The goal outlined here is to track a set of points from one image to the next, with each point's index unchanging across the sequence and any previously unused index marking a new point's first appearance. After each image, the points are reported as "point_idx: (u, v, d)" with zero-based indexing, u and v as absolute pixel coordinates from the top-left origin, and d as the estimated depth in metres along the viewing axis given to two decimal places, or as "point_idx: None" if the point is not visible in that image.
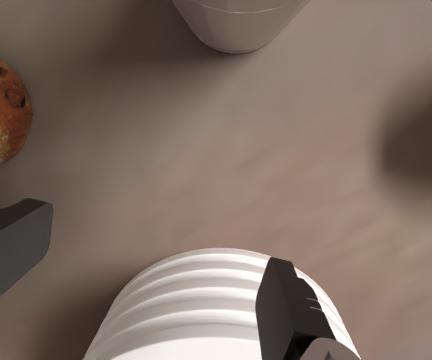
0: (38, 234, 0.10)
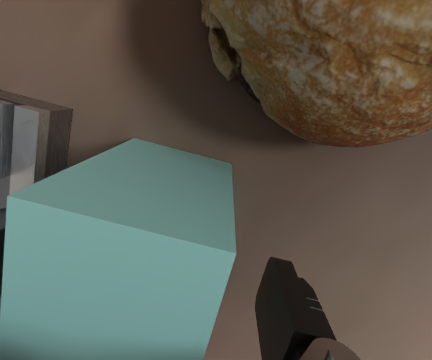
0: None
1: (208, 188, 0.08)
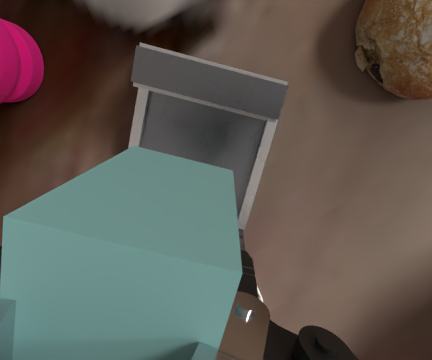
0: None
1: (210, 199, 0.08)
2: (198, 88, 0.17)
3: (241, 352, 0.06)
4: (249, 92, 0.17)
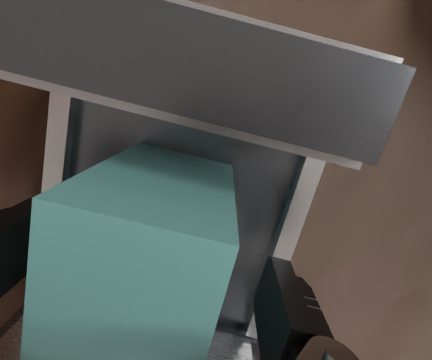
0: None
1: (211, 188, 0.09)
2: (149, 77, 0.06)
3: None
4: (298, 88, 0.06)
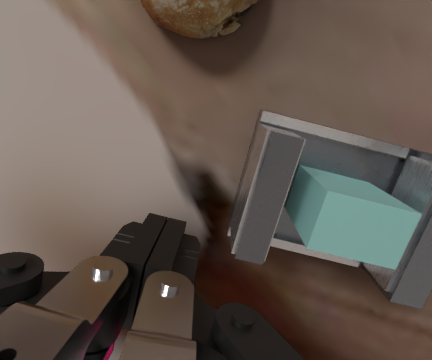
0: None
1: (309, 186, 0.21)
2: (271, 211, 0.19)
3: (171, 328, 0.06)
4: (277, 167, 0.19)
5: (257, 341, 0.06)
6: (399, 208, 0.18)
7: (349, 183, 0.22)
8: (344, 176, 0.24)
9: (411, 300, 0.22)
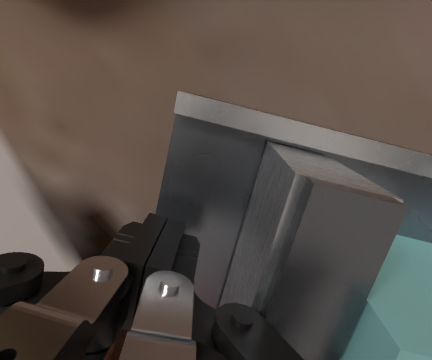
0: None
1: None
2: None
3: (171, 328, 0.06)
4: (322, 280, 0.07)
5: (257, 341, 0.06)
6: None
7: (420, 266, 0.10)
8: (396, 235, 0.12)
9: None
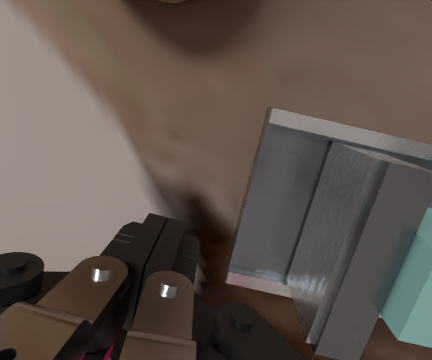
0: None
1: None
2: (377, 286, 0.12)
3: (171, 328, 0.06)
4: (392, 219, 0.11)
5: (257, 341, 0.06)
6: None
7: None
8: None
9: None
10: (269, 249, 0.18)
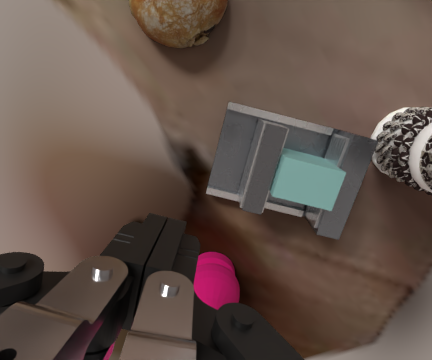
0: None
1: None
2: (266, 177, 0.29)
3: (171, 328, 0.06)
4: (270, 147, 0.28)
5: (257, 341, 0.06)
6: (331, 168, 0.28)
7: (305, 156, 0.32)
8: (305, 153, 0.34)
9: (331, 233, 0.31)
10: (229, 176, 0.35)
